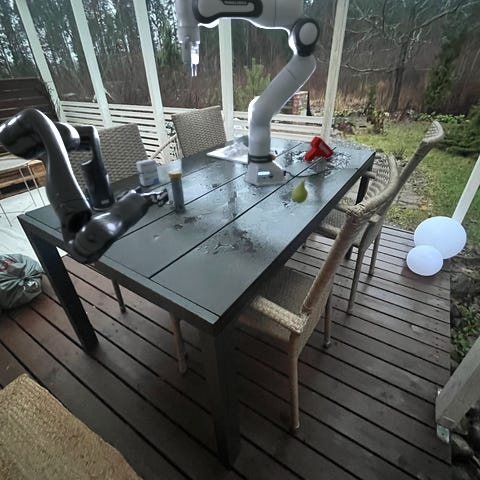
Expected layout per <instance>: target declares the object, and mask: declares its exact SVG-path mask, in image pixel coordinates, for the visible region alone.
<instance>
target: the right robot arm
mask: <svg viewBox="0 0 480 480" xmlns="http://www.w3.org/2000/svg"><path fill="white" fill-rule="evenodd" d="M174 8H175V9H174V10H175V16H176V19H177V26H176V27H177V28H176V29H177V38H178V43H181V54H182V62H183V64H184V65H185V64H186V70H187V76H188V77H196V76H197V65H198V64H199V59H200V58H199V57H200V56H199V55H200V54H199V52H200V51H199V44H200V43H201V33H200V26H202V27H203V26H204V27H206V28H214V27H216V26H217V25H218V24H219V23H220V21H221V19H236V20H237V19H239V20H240V19H242V20H245V21H248V22H250V23H251V24H253V25H254V26H255V27H258V28H261V29H262V28H263V29H270V30H271V29H272V30H273V29H274V30H275V29H276V30H277V29H280V30H281V29H282V30H285V34H286V38H287V39H286V40H287V44H288V47H289V49H290V50H291V51H292V52H293V55H292V57H291V59H290V60H289V62H288V63H287V64H285V66H284V67H283V68H282V69H281V70H280V72H278V74H277V75H275V77H274V78H273V79H272V80H271V81H270V83H269V84H268V85H267V86H266V88H265V89H264V90H263V91H262V93H261V94H260V95H259V96H258V97H256V98H253V100H251V102H249V105H248V148H249V152H248V155H247V163H248V164H247V171H246V175H245V177H244V179H245V180H244V181H245V182H246V183H249V184H252V185H255V186H257V187H267V186H279V185H286V184H288V182H289V181H288V180H289V179H288V177H287V174H288V175H289V176H291V177H293V178H307V177H308V176H309V175H310V177H313V176H316V175H320V174H322V173H324V172H328V171H334V170H337V169H336V168H337V167H333V168H328V169H325V170H322V171H319V172H316V173H312V174H308V175H293V174H292V173H291V172H290V171H288V170H286V169H285V168H283V167H282V166H281V165H280V164H279V163H277V162H276V161H275V160H276V158H277V157H276V156H275V154H273V152H271V145H272V121H273V120H274V118H275V117H276V116H277V115H278V114H279V112H280V111H282V109H283V108H284V106H285V105H287V102H288V101H289V100H290V99H291V98H292V97H293V96H294V95H295V94H296V93H297V92H298V91H299V90H300V89H301V88H302V87H303V86H304V84H306V82H307V81H308V80H309V79H310V78H311V76H312V74H314V71H315V70H316V68H317V61H316V58H315V56H314V55H313V54H314V53H315V52H316V49H317V46H318V43H319V40H320V37H321V27H320V24H319V22H318V21H317V20H316V19H315V18H314V17H309V16H308V17H304V15H303V1H302V0H174ZM270 152H271V153H270ZM355 170H357V171H359V170H360V169H359V168H358V167H357V168H355Z"/></svg>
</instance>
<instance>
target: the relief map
mask: <svg viewBox="0 0 480 480" xmlns="http://www.w3.org/2000/svg"><path fill="white" fill-rule="evenodd" d="M248 152H249V146H246V145H245V144H244V143H243V142H242V141H240V142H238V141H236V142H234V144H230V145H228V146H225V147H221V148H216V149H215V150H213V151H211V152H207V153H206V156H208V157H213V158H218V159H221V160H226V161H231V162H235V163H238V164H239V163H240V164H245V165H248V163H247V155H248ZM270 153H272V152H271V151H270Z"/></svg>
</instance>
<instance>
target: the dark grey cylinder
mask: <svg viewBox="0 0 480 480" xmlns="http://www.w3.org/2000/svg"><path fill="white" fill-rule="evenodd" d="M169 179H170V185H171V191H172V199H173V206H174V211H175V214H177V215H183V214H185V213H186V205H185V197H184V196H185V195H184V189H183V188H184V187H183V180H182V176H181V177H179V178H170V177H169Z"/></svg>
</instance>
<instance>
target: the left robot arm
mask: <svg viewBox="0 0 480 480" xmlns="http://www.w3.org/2000/svg"><path fill="white" fill-rule="evenodd" d="M0 145H1V147H2V149H4V150H5V151H6V152H7V153H9V154H11V155H12V156H14V157H17V159H22V160H25V161H34V160H36V159H38V158H41V157H44V156H45V157H46V165H45V166H46V168H45V176H44V177H45V179H44V187H45V188H44V190H45V195H46V198H47V201H48V202H49V205H50V206H51V208H52V210H53V211H54V214H55V216H56V217H57V219H58V221H59V227H60V232H61V236H62V240H63V244H64V247H65V249H66V251H67V253H68V255H69V256H70V258H71V259H73V261H75V262H77V263H79V264H81V265H85V266H89V265H93V264H95V263H97V262H98V261H99V260H100V259H102V257H103V256H104V255H105V254H106V253H107V251H108V250H110V248H111V247H113V245H114V244H115V243H116V242H117V240H118V239H120V238H122V237H123V236H124V235H125V234H126V233H127V232H128V231H129V230H130V229H131V228H133V227H134V226H136V225H137V224H138V223H139V222H140V221H141V220H142V219H143V218H144V217H145V216H146V215H147V213H148V212H149V209H150V207H153V206H154V205H155V206H157V208H163V207H164V206H166V204H167V203H168V202H169V201H170V196H169V191H168V189H167V187H163V188H161V190H160V191H157V192H155V191H151V192H148V193H143V190H142V186H137V187H135V188H134V189H131V190H129V191H128V190H123V191H122V192H121V193H119V194H118V195H117V196H116V197H115V195H114V191H113V188H112V185H111V181H110V178H109V174H108V170H107V165H106V162H105V158H104V154H103V150H102V147H101V146H102V145H101V142H100V137H99V133H98V131H97V129H96V127H95V126H94V125H92V124H91V125H89V124H87V125H70V124H68V123H65V122H61V121H52V120H51V119H50V118H48V116H46V115H45V114H44V113H43V112H41V111H40V110H38V109H37V108H33V107H28V108H25V109H22V110H20V111H19V112H17V113H16V114H15V115H13V116H11V117H10V118H8V119H7V120H5V121H4V122H2V123H1V124H0ZM73 152H75V153H84V152H91V155H90V156H89V157H87V158H85V159H82V160H80V161H79V163H78V166H79V169H80V173H81V175H82V177H83V181H84V184H85V187H84V191H83V189H82V188H81V186H80V184H79V181H78V180H77V178H76V175H75V173H74V169H73V167H72V164H71V161H70V158H69V155H68V154H71V153H73ZM84 192H85V193H84ZM85 194H86V195H85ZM158 196H159V197H158ZM94 211H95V212H102V213H101V214H98V215H96V216H94V217H93V213H94Z"/></svg>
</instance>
